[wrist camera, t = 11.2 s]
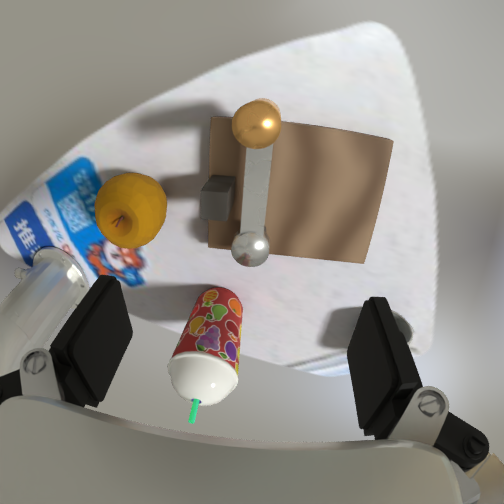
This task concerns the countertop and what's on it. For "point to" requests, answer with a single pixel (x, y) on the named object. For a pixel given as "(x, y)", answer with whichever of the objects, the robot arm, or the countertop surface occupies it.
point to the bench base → (301, 190)
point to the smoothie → (208, 350)
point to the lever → (255, 177)
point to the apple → (130, 209)
